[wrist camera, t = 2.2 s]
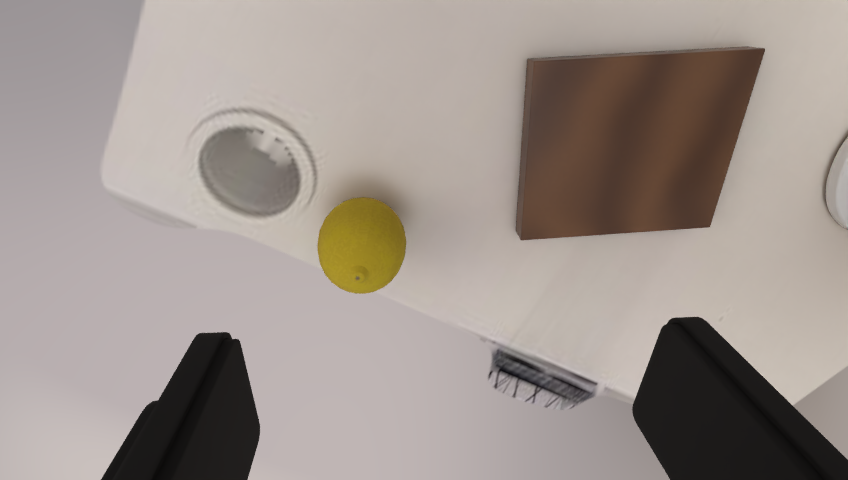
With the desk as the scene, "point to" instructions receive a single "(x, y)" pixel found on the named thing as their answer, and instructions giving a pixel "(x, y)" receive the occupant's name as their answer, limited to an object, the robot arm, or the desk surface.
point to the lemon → (361, 245)
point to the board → (629, 139)
